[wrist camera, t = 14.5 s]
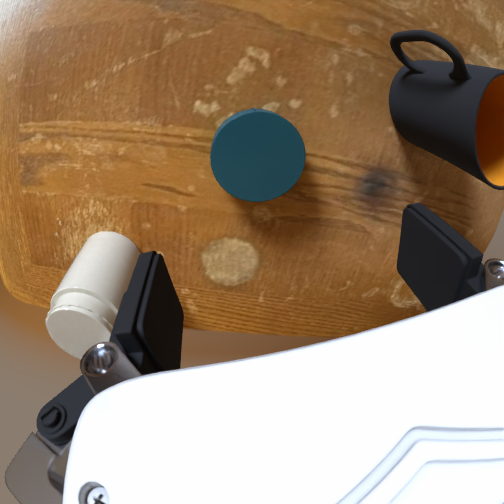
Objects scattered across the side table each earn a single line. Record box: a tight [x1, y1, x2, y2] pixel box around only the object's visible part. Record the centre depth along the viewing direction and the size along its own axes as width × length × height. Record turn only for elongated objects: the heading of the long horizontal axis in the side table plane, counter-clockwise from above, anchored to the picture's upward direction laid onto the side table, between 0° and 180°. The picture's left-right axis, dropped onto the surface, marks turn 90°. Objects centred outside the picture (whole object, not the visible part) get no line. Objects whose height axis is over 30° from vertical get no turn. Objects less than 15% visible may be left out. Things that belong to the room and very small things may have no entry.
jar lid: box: [210, 108, 305, 202], centre depth 22 cm, size 7×7×2 cm
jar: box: [46, 231, 141, 359], centre depth 22 cm, size 6×6×10 cm
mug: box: [389, 30, 504, 190], centre depth 16 cm, size 8×12×10 cm
